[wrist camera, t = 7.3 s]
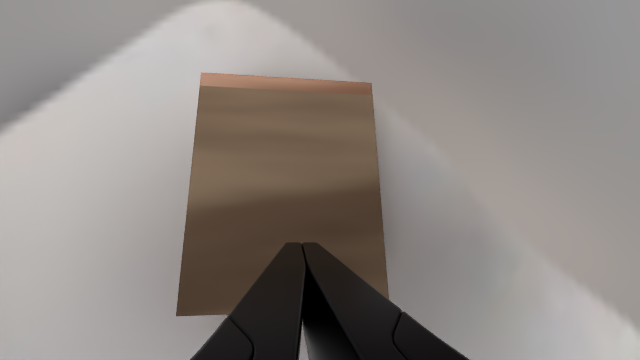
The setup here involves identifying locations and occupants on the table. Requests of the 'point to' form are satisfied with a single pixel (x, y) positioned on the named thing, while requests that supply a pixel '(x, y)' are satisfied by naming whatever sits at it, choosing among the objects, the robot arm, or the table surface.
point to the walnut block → (278, 183)
